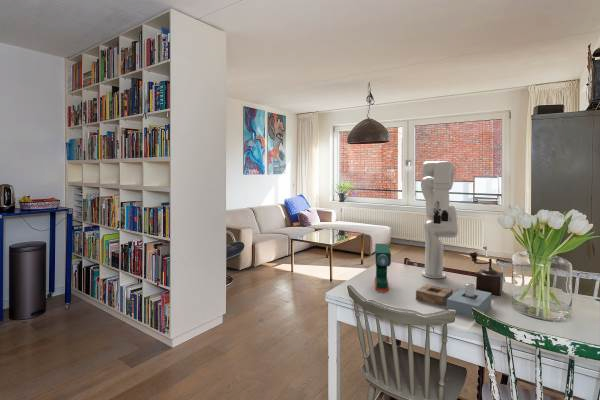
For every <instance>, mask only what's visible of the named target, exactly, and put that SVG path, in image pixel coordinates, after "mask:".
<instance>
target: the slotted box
mask: <svg viewBox="0 0 600 400" xmlns="http://www.w3.org/2000/svg"><path fill="white" fill-rule="evenodd" d="M472 307H475V308H476V309H478V310H480V311H482V312H484V314H486V313H487V311H488V310H489V309H490V308H491V307H492V295H491V293H489V292H484V291H480V290H476V289H475V290H474V299H471V298H467V297H465V286H462V287H460V288H459V289H458V290H456V291H455V292H454V293H452V295H451V296H450V297H449V298H447V303H446V310H448V309H454V310H456V313H455V314H458V315H462V316H466V317H470V318H473V314H472Z"/></svg>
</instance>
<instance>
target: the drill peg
mask: <svg viewBox="0 0 600 400" xmlns="http://www.w3.org/2000/svg"><path fill="white" fill-rule="evenodd" d="M464 285H465V286H464V287H465V297H467V298H471V299H474V290H476V284H474V283H472V282H471V283H470V282H465V284H464Z"/></svg>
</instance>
